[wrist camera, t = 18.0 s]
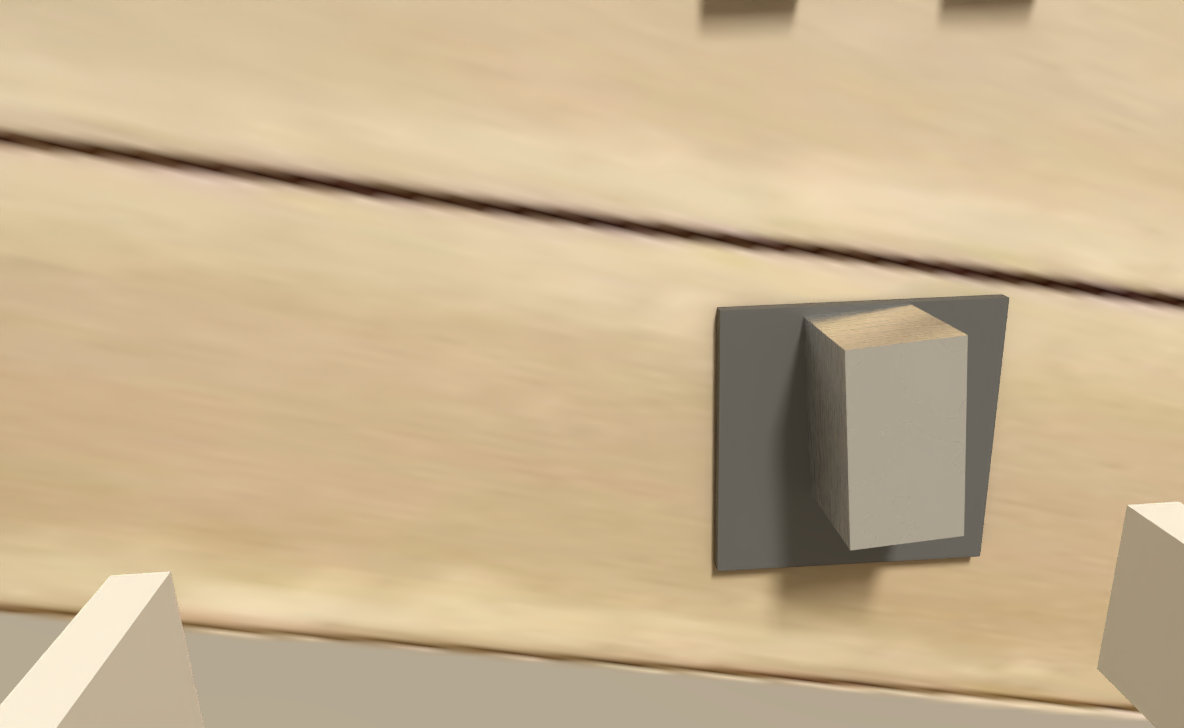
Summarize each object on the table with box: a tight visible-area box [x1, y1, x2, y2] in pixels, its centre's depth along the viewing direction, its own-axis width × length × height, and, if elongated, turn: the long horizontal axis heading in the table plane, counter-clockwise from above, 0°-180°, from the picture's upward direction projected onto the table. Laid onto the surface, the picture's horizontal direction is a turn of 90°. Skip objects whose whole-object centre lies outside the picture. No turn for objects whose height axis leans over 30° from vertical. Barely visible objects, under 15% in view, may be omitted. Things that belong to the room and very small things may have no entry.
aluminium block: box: [804, 304, 968, 550], centre depth 33 cm, size 4×8×5 cm, turn 7°
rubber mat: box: [715, 295, 1009, 571], centre depth 37 cm, size 12×12×1 cm
